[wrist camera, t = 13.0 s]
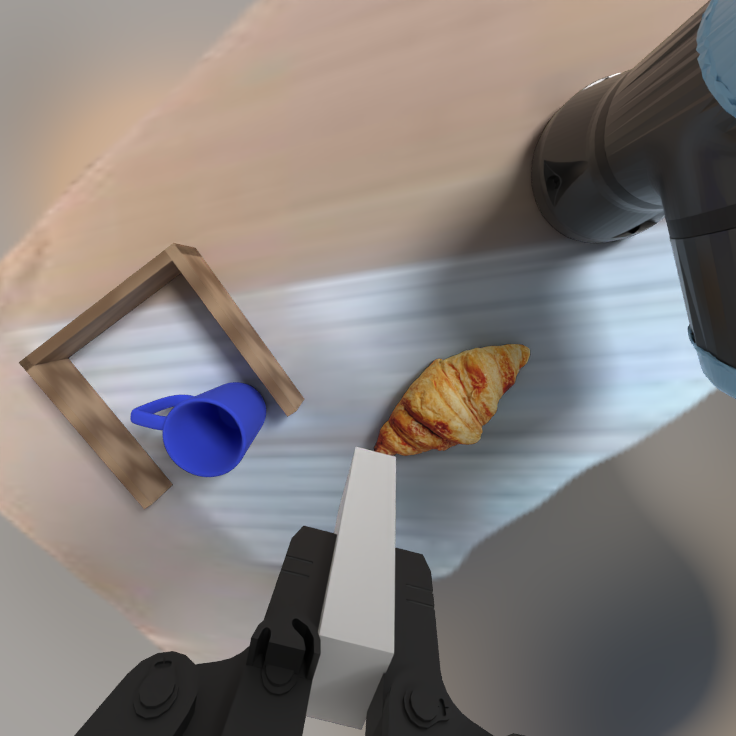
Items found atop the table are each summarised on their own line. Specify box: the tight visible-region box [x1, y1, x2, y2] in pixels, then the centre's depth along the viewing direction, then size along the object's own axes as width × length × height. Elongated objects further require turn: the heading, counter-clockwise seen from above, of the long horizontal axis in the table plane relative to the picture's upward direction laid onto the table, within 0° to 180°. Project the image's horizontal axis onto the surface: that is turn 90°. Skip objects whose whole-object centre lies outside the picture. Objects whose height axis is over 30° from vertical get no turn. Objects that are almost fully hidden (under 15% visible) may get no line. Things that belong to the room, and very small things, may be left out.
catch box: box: [19, 243, 304, 509], centre depth 43 cm, size 21×22×4 cm
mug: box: [131, 382, 266, 477], centre depth 41 cm, size 8×12×10 cm
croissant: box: [374, 344, 530, 456], centre depth 42 cm, size 21×10×8 cm, turn 128°
